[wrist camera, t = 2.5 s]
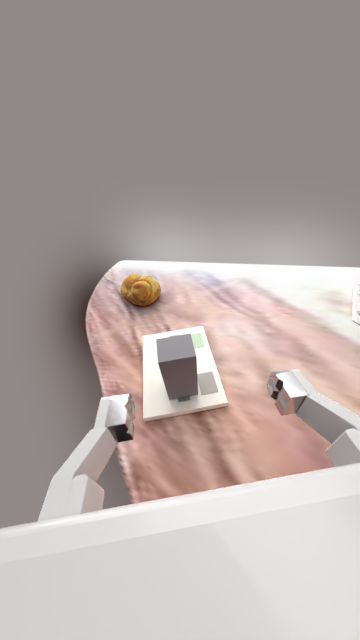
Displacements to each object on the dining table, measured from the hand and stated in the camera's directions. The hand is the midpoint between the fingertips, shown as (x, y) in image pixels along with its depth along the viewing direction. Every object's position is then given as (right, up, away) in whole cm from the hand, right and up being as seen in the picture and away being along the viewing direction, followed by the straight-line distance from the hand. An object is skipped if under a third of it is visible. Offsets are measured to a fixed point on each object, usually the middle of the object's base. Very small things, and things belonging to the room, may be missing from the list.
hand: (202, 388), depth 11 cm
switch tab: (-1, -8, +22) cm, 24 cm away
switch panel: (-1, -6, +27) cm, 28 cm away
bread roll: (-13, +11, +46) cm, 49 cm away
